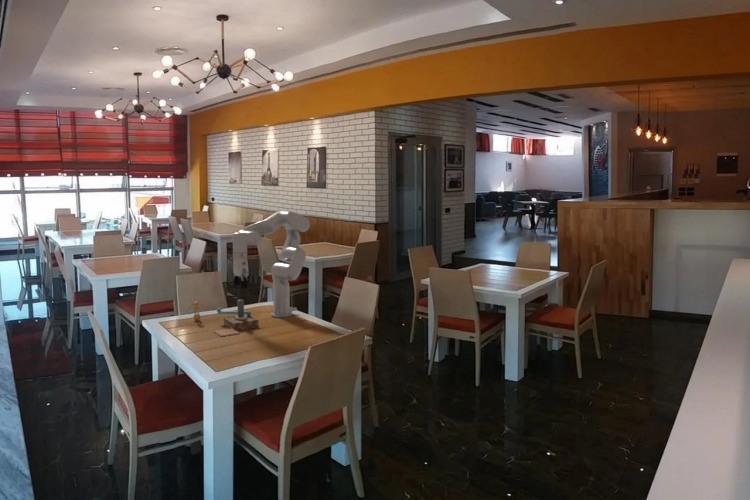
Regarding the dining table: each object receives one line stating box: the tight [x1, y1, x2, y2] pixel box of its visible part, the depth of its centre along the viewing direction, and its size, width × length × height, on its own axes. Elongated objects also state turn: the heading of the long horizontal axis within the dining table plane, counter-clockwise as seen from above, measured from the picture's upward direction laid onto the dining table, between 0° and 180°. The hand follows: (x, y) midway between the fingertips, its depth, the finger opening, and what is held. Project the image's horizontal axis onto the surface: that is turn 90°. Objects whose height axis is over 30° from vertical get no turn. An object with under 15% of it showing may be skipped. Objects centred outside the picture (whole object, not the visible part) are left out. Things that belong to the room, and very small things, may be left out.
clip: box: [216, 307, 252, 315], centre depth 319 cm, size 19×2×3 cm, turn 93°
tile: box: [213, 328, 241, 337], centre depth 300 cm, size 10×10×1 cm
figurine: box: [188, 300, 205, 322], centre depth 323 cm, size 8×6×12 cm
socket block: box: [223, 313, 259, 331], centre depth 314 cm, size 14×14×5 cm
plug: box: [234, 299, 247, 321], centre depth 313 cm, size 6×6×14 cm
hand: (240, 286), depth 311 cm, fingers open, 9 cm apart
